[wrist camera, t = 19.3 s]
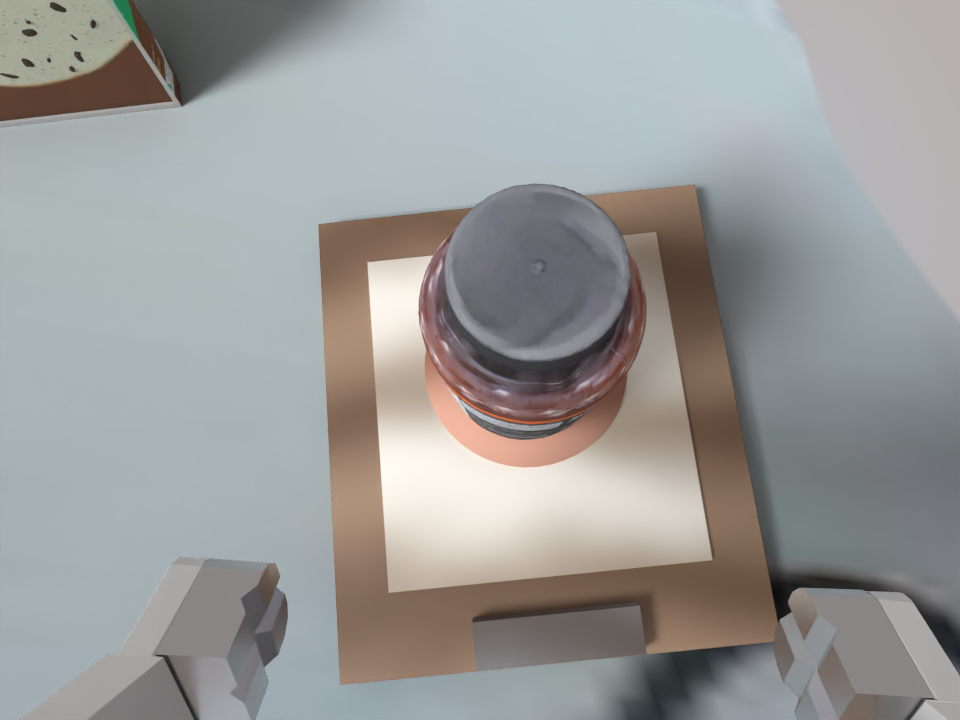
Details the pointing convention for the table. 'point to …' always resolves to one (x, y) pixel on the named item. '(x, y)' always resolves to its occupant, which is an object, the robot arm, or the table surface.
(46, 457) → the table surface
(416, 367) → the clipboard
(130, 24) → the food container
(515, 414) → the supplement bottle
